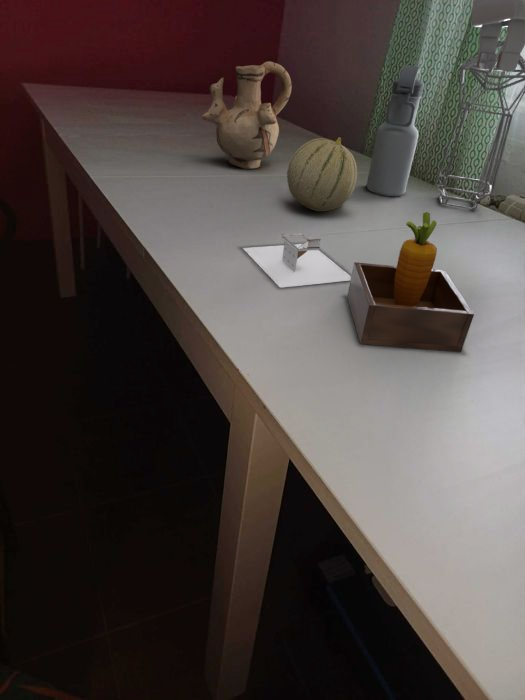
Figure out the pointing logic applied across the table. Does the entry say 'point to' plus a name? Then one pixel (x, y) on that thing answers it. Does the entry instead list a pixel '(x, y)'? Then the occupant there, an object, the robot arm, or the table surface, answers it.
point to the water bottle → (396, 137)
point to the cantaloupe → (322, 174)
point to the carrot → (415, 264)
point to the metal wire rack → (470, 65)
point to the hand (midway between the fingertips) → (493, 70)
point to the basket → (407, 311)
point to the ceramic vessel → (248, 115)
